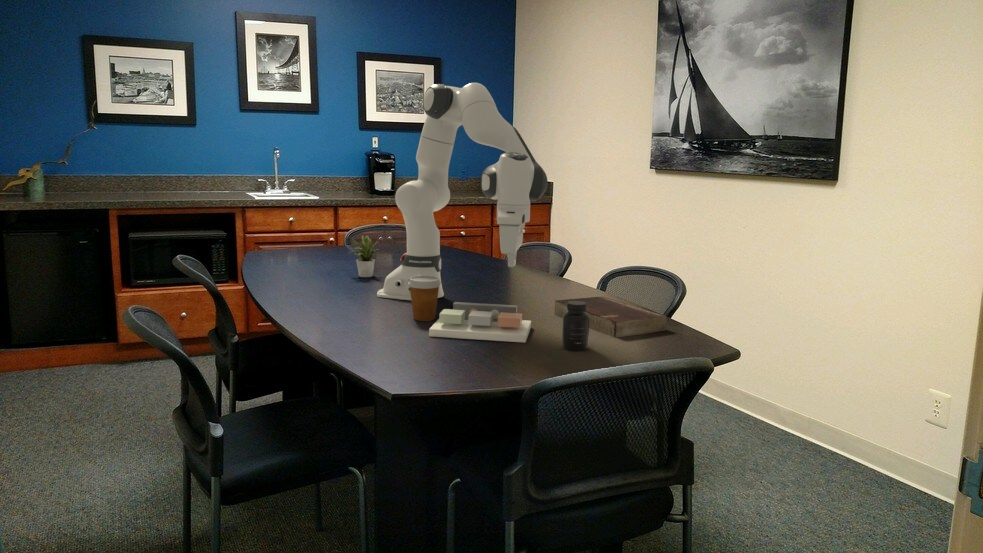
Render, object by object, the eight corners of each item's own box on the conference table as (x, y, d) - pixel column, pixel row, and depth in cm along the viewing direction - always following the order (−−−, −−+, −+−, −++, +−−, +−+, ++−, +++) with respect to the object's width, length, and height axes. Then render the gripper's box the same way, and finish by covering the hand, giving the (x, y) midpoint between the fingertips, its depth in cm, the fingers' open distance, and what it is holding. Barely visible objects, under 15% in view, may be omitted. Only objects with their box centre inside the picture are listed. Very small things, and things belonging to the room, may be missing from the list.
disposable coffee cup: (415, 323, 204) (415, 282, 202) (403, 316, 212) (403, 276, 210) (445, 320, 208) (445, 280, 206) (432, 313, 216) (433, 274, 214)
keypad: (429, 336, 191) (429, 312, 190) (441, 322, 206) (442, 300, 205) (525, 342, 187) (526, 318, 186) (531, 327, 203) (531, 305, 201)
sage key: (439, 322, 193) (439, 313, 193) (443, 317, 199) (444, 308, 199) (460, 324, 192) (461, 315, 192) (465, 318, 198) (465, 310, 198)
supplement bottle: (559, 344, 186) (561, 299, 184) (584, 344, 187) (587, 299, 185) (564, 351, 180) (566, 305, 177) (590, 351, 180) (593, 305, 178)
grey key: (468, 324, 192) (468, 315, 192) (472, 319, 198) (472, 310, 198) (490, 325, 191) (490, 316, 191) (493, 320, 197) (493, 311, 197)
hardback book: (666, 331, 204) (667, 315, 203) (615, 339, 194) (616, 321, 193) (602, 310, 228) (603, 295, 227) (554, 316, 219) (555, 300, 218)
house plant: (341, 273, 278) (340, 231, 275) (375, 271, 284) (375, 230, 281) (350, 279, 266) (349, 236, 263) (386, 277, 271) (385, 235, 268)
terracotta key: (497, 326, 191) (497, 317, 191) (500, 321, 197) (500, 312, 196) (519, 327, 190) (520, 318, 190) (522, 322, 196) (522, 313, 196)
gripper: (506, 210, 199) (504, 259, 201) (496, 218, 179) (494, 272, 181) (528, 211, 198) (527, 260, 200) (521, 219, 178) (519, 273, 180)
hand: (511, 266), depth 191 cm, fingers closed
